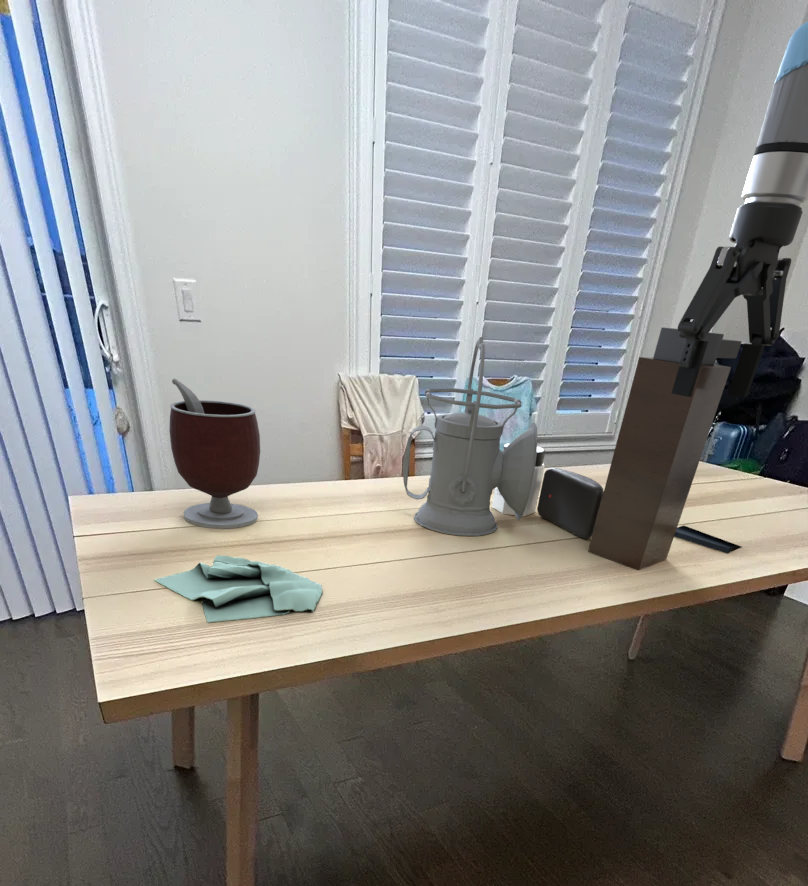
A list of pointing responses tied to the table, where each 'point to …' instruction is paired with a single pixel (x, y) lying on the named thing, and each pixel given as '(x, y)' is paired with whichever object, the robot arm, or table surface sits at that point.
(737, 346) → the switch lever
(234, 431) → the mate gourd
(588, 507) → the red-dotted rounded block
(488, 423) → the lantern
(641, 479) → the plinth
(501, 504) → the jar
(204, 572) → the cloth
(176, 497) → the table surface
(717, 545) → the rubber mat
